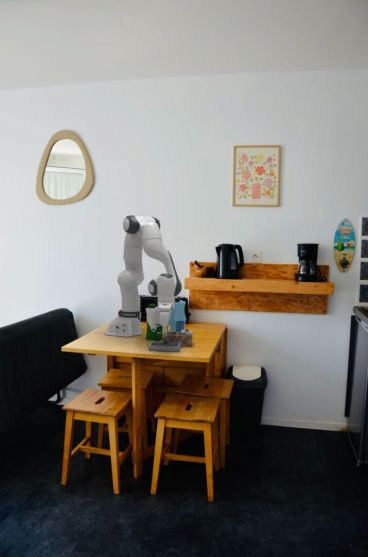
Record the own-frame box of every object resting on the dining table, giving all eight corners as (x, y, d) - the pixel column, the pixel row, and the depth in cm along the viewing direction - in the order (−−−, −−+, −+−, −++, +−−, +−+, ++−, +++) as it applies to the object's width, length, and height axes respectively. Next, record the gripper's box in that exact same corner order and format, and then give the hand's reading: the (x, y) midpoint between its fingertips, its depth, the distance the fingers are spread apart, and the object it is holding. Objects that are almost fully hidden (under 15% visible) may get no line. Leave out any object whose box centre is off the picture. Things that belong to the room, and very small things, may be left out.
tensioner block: (163, 346, 222) (163, 330, 221) (164, 341, 231) (165, 326, 230) (191, 347, 221) (192, 331, 221) (192, 342, 230) (192, 327, 229)
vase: (179, 332, 255) (180, 300, 253) (185, 335, 248) (186, 302, 246) (168, 333, 252) (169, 300, 250) (173, 336, 245) (174, 302, 243)
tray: (148, 350, 212) (148, 346, 212) (151, 345, 222) (151, 341, 222) (179, 352, 211) (179, 347, 211) (180, 346, 221) (180, 342, 221)
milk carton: (152, 336, 243) (153, 302, 241) (165, 338, 238) (166, 304, 236) (143, 339, 236) (144, 304, 234) (156, 341, 231) (157, 306, 229)
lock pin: (162, 344, 215) (162, 321, 213) (162, 342, 218) (163, 320, 217) (168, 344, 214) (169, 321, 213) (169, 343, 218) (169, 320, 217)
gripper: (162, 301, 225) (161, 326, 226) (157, 308, 204) (157, 335, 206) (173, 302, 224) (173, 326, 226) (170, 308, 204) (170, 335, 205)
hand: (165, 331), depth 216 cm, fingers closed on lock pin, 3 cm apart
